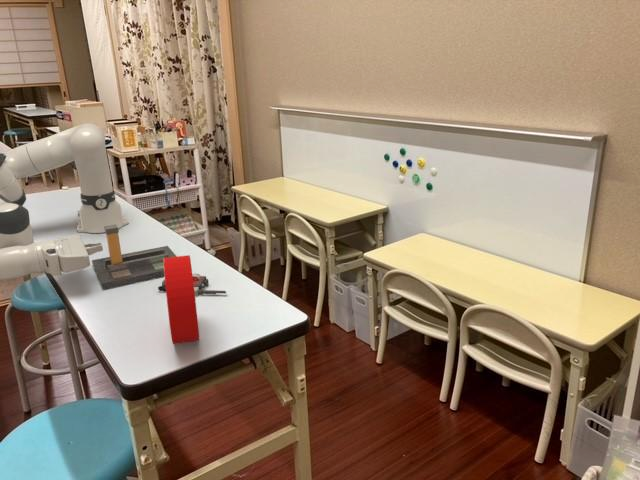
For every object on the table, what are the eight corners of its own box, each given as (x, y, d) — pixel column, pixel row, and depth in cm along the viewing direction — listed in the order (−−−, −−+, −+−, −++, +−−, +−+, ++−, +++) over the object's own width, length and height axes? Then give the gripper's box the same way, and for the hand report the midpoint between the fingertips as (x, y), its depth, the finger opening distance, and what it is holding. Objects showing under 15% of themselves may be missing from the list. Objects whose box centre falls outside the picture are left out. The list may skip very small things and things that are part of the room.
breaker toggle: (110, 265, 156) (103, 226, 151) (122, 263, 157) (115, 224, 153) (112, 269, 153) (105, 229, 148) (124, 266, 155) (118, 227, 150)
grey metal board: (92, 266, 161) (90, 254, 160) (168, 251, 173) (166, 240, 171) (103, 289, 145) (100, 277, 144) (185, 271, 156) (184, 260, 155)
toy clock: (201, 356, 113) (192, 275, 106) (174, 361, 112) (163, 279, 105) (195, 314, 131) (188, 243, 124) (172, 318, 130) (163, 245, 123)
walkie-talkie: (155, 296, 142) (225, 298, 141) (153, 282, 140) (224, 284, 139) (166, 283, 150) (232, 284, 149) (164, 269, 148) (231, 271, 147)
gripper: (49, 254, 153) (98, 245, 160) (55, 278, 137) (109, 268, 143) (45, 234, 151) (95, 226, 158) (50, 257, 134) (106, 247, 141)
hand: (102, 246), depth 150 cm, fingers closed
